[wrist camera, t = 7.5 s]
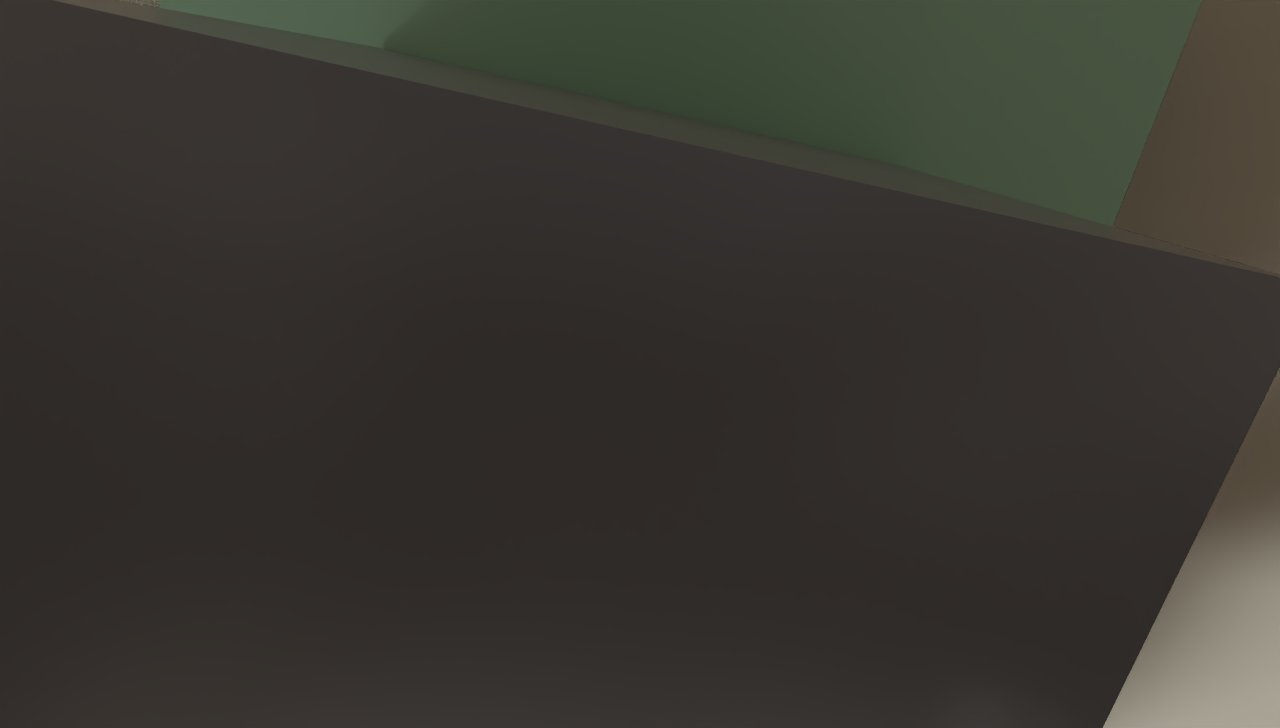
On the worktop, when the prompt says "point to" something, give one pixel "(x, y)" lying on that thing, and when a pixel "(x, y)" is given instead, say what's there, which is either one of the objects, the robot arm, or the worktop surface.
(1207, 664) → the worktop surface
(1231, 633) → the worktop surface
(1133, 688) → the worktop surface
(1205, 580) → the worktop surface
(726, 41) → the board
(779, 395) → the block
